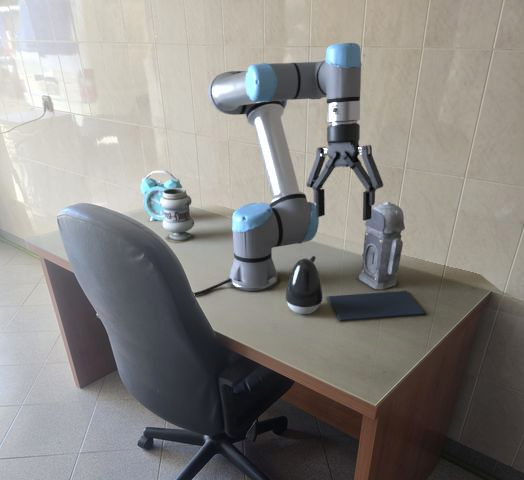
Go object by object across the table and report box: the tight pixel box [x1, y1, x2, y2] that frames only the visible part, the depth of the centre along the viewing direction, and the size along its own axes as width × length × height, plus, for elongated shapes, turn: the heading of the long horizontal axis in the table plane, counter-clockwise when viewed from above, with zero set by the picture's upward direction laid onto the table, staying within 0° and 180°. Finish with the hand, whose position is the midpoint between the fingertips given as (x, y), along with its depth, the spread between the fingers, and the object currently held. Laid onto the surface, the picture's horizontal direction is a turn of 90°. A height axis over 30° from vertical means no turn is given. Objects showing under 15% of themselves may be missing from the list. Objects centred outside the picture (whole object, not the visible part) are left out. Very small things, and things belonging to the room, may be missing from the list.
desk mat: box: [327, 290, 426, 322], centre depth 133 cm, size 24×14×1 cm, turn 97°
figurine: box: [358, 201, 406, 290], centre depth 140 cm, size 10×14×25 cm
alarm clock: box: [140, 169, 183, 222], centre depth 196 cm, size 17×10×20 cm, turn 80°
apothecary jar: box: [160, 187, 195, 243], centre depth 178 cm, size 12×12×18 cm
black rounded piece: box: [285, 255, 324, 315], centre depth 128 cm, size 10×10×15 cm
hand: (342, 217), depth 117 cm, fingers open, 13 cm apart
